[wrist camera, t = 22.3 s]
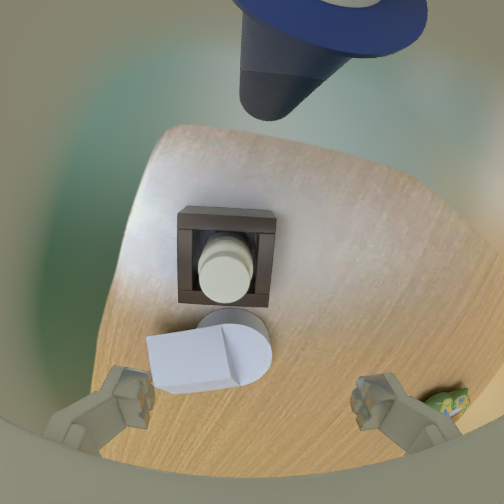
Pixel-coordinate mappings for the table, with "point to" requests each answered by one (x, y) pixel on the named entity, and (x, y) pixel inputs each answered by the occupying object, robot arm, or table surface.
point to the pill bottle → (225, 266)
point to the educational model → (450, 403)
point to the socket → (224, 220)
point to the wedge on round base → (211, 353)
